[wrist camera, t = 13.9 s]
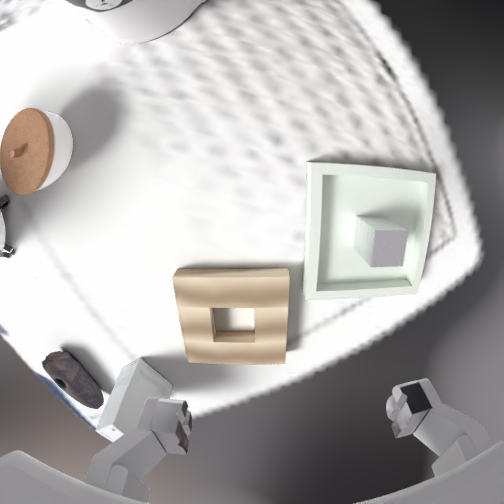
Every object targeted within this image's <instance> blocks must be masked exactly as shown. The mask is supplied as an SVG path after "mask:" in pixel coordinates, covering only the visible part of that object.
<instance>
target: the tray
mask: <svg viewBox="0 0 504 504" xmlns="http://www.w3.org/2000/svg"><path fill="white" fill-rule="evenodd" d="M435 184H436V174H434V173H430V172H425V171H418V170H411V169H402V168H393V167H384V166H373V165H361V164H346V163H327V162H306V219H305V246H304V267H303V284H302V290H303V293H304V297H305V300H329V299H348V298H365V297H380V296H393V295H405V294H416V293H418V290H419V286H420V281H421V277H422V273H423V268H424V263H425V258H426V253H427V247H428V242H429V236H430V229H431V222H432V214H433V206H434V196H435ZM356 216H385V217H387V218H389V219H390V220H392V221H394V222H395V223H397V224H399V225H400V226H402V227H404V228H405V229H407V230H408V237H407V244H406V250H405V256H404V262H403V266H396V267H370V266H369V265H368V264H367V263H366V262H365V260H364V259H363V258H362V257H361V256H360V255H359V254H358V253H357V251H356V250H355V249H354V248H353V243H354V233H355V221H356Z"/></svg>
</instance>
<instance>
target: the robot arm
mask: <svg viewBox="0 0 504 504" xmlns="http://www.w3.org/2000/svg"><path fill="white" fill-rule="evenodd" d="M66 1H68V2H69V3H70V4H71V5H72V6H74V7H75V8H76V9H77V10H78V11H79V12H80V13H82V14H83V15H84V16H85V17H86V23H87V24H88V25H90V26H91V27H94V28H99V29H101V31H102V32H103V33H104V34H105V35H106V37H108V38H109V39H110V40H112V41H114V42H116V43H120V44H138V43H143V42H147V41H150V40H153V39H156V38H158V37H160V36H162V35H164V34H166V33H168V32H170V31H171V30H173V29H174V28H176V27H177V26H179V25H180V24H181V23H182V22H184V21H185V20H186V19H187V18H188V17H189V16H190V15H191V14H192V12H193V11H194V10H195V9H196V8H197V7H198V6H199V5H200V4H201V3H203V2H205V1H206V0H66ZM392 392H393V395H392V396H391V397H389V399H388V401H387V405H386V410H387V415H388V418H389V419H391V420H392V421H393V424H392V428H393V431H394V434H395V437H396V438H399V437H403V436H406V435H410V434H413V433H414V434H413V435H414V436H416V437H417V438H418V439H419V440H421V441H422V442H423V443H424V444H425V445H426V446H428V447H429V448H430V449H431V450H432V451H434V452H435V453H436V454H437V455H438V456H440V458H438V459H437V460H436V461H435V462H434V463H433V465H432V469H433V472H434V475H435V477H434V478H431V479H429V480H427V481H424V482H422V483H419V484H417V485H414V486H412V487H409V488H406V489H403V490H400V491H398V492H395V493H391V494H389V495H385V496H382V497H378V498H375V499H371V500H367V501H363V502H359V503H355V504H504V439H502V440H501V441H499V442H498V443H496V444H495V445H492V443H491V441H490V439H489V437H488V435H487V433H486V431H485V430H484V428H483V426H482V425H481V424H480V423H478V422H476V421H474V420H472V419H470V418H469V417H467V416H465V415H463V414H462V413H460V412H458V411H457V410H455V409H453V408H452V407H450V406H448V405H446V404H444V405H443V404H442V402H441V400H440V399H439V397H438V395H437V393H436V392H435V390H434V388H433V386H432V384H431V383H430V381H429V380H428V379H427V378H424V379H421V380H417V381H412V382H409V383H405V384H401V385H397V386H395V387H394V388H393V390H392ZM187 408H188V404H187V402H186V401H183V400H173V399H165V398H158V397H150V396H149V397H148V398H147V399H146V401H145V404H144V406H143V409H142V412H141V415H140V418H139V421H138V424H137V426H136V428H132V429H130V430H129V431H128V432H126V433H125V434H124V435H122V436H121V437H120V438H118V439H117V440H115V441H114V442H113V443H111V444H110V445H109V446H107V447H106V448H104V449H103V450H102V451H100V452H99V453H97V454H96V455H95V456H93V458H92V461H91V464H90V466H89V469H88V471H87V474H86V477H85V479H84V482H82V481H79V480H77V479H75V478H73V477H70V476H68V475H66V474H64V473H62V472H59V471H57V470H55V469H53V468H51V467H49V466H47V465H45V464H43V463H42V462H40V461H38V460H36V459H34V458H33V457H31V456H29V455H27V454H26V453H24V452H22V451H14V452H11V453H9V454H6V455H4V456H2V457H0V504H152V503H148V499H149V495H150V490H149V488H148V487H147V486H145V485H144V484H143V483H142V482H141V481H140V480H141V479H142V478H143V477H144V476H145V475H146V474H147V473H148V472H149V471H150V470H151V469H152V468H153V467H154V466H155V465H156V464H157V463H158V462H159V461H160V460H161V459H162V458H163V457H164V456H165V455H166V454H167V453H173V454H183V455H187V452H188V447H189V439H188V437H187V436H188V435H189V434H190V433H191V431H192V415H191V412H190V411H188V410H187Z"/></svg>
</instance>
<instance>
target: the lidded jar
mask: <svg viewBox="0 0 504 504" xmlns="http://www.w3.org/2000/svg"><path fill="white" fill-rule="evenodd" d="M72 152H73V138H72V133H71V130H70V128H69V126H68V124H67V123H66V122H65V120H64V119H63V118H61V117H60V116H59V115H57V114H55V113H53V112H49V111H45V110H39V109H34V108H29V109H24V110H22V111H20V112H19V113H18V114H17V115H15V116H14V118H13V119H12V120H11V121H10V123H9V124H8V126H7V128H6V130H5V133H4V135H3V139H2V142H1V148H0V167H1V172H2V176H3V179H4V181H5V183H6V185H7V186H8V188H9V189H10V190H11V191H12V192H14V193H15V194H17V195H21V196H24V195H28V194H31V193H34V192H35V191H38V190H40V189H43V188H45V187H47V186H49V185H50V184H52V183H53V182H55V181H56V180H57V179H58V178H59V177H60V176H61V175H62V174H63V173H64V171H65V169H66V168H67V166H68V164H69V162H70V159H71V155H72Z"/></svg>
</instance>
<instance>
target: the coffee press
mask: <svg viewBox="0 0 504 504" xmlns="http://www.w3.org/2000/svg"><path fill="white" fill-rule="evenodd" d="M9 202H10V200H9V198H8V196H7V195H4V196H2V197H1V198H0V257H7V258H10V257H11V256H12V254H13V252H14V250H13V248H12V247H10V246H8V245H6V244H5V224H4V219H3V215H2V212H1V211H2V209H3V208H4V207H6V206H7V205H8V204H9ZM3 248H4V249H5V250H7V251H9V252H10V253H7V252H2V251H3Z"/></svg>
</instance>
